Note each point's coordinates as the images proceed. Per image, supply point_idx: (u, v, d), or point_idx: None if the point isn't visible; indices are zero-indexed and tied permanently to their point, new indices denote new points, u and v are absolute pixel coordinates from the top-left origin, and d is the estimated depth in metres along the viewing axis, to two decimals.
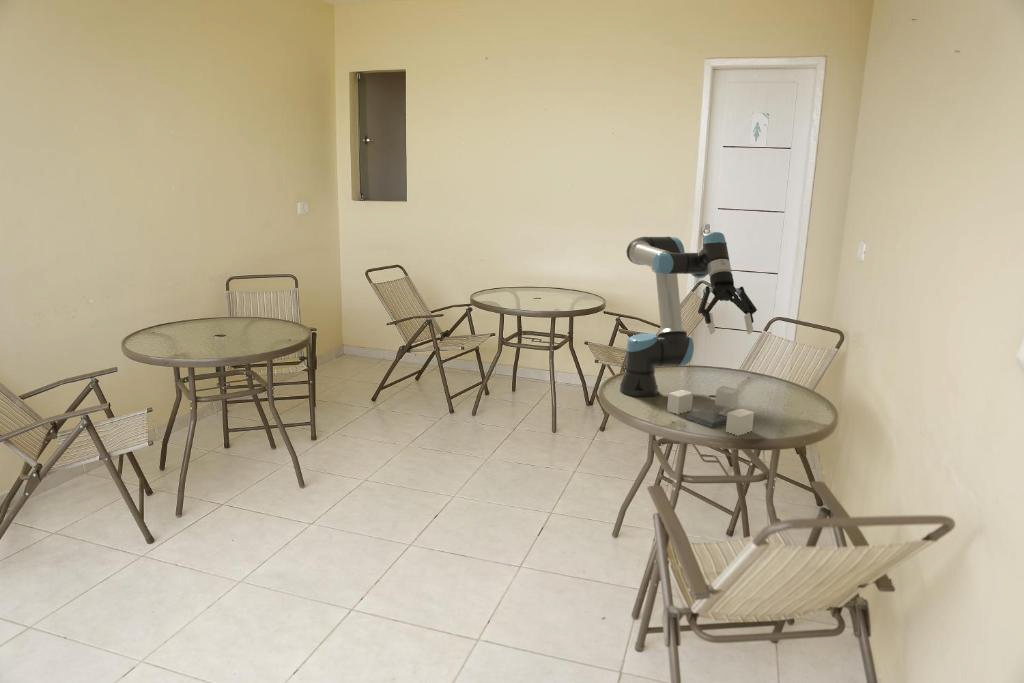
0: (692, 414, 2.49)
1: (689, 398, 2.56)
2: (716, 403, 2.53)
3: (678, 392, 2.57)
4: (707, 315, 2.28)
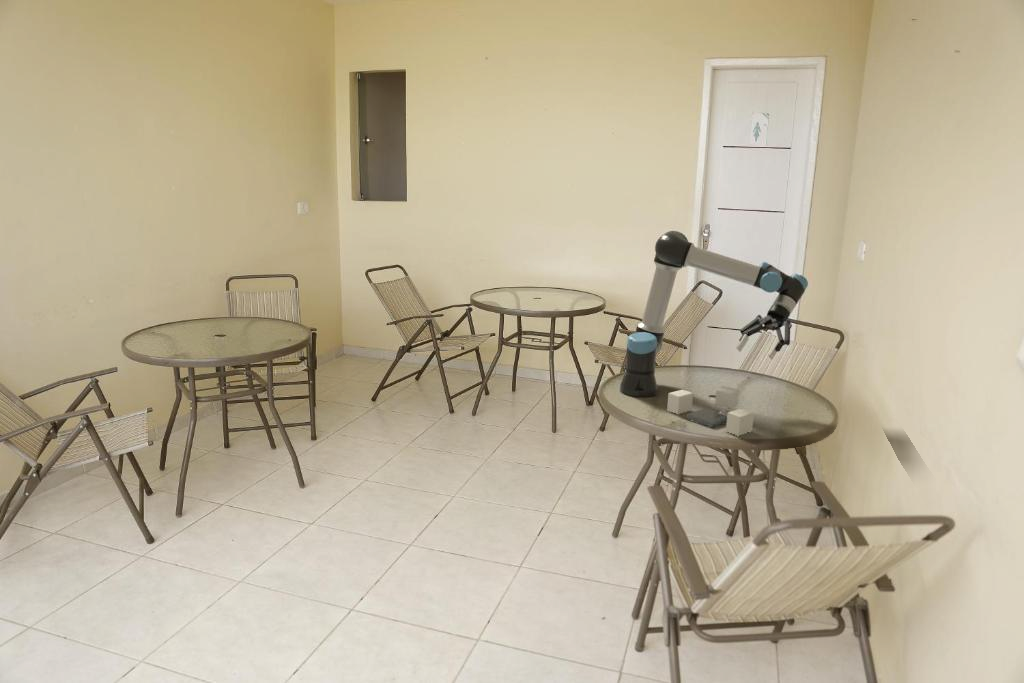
0: (692, 414, 2.49)
1: (689, 398, 2.56)
2: (716, 403, 2.53)
3: (678, 392, 2.57)
4: None
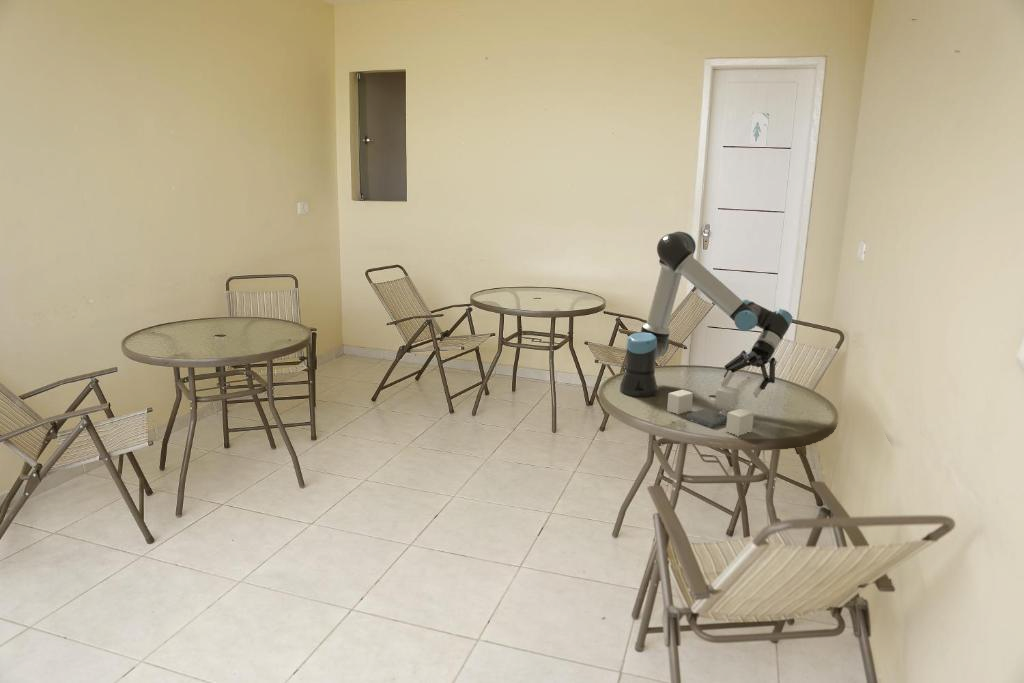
0: (692, 414, 2.49)
1: (689, 398, 2.56)
2: (716, 403, 2.53)
3: (678, 392, 2.57)
4: None
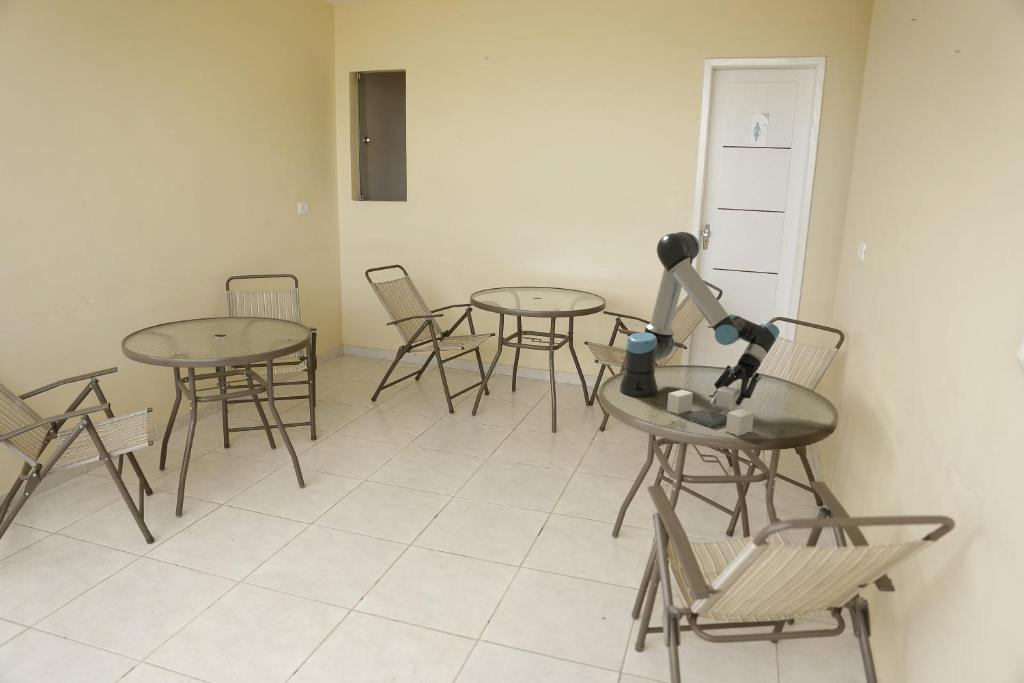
0: (692, 414, 2.49)
1: (689, 398, 2.56)
2: (716, 403, 2.53)
3: (678, 392, 2.57)
4: None
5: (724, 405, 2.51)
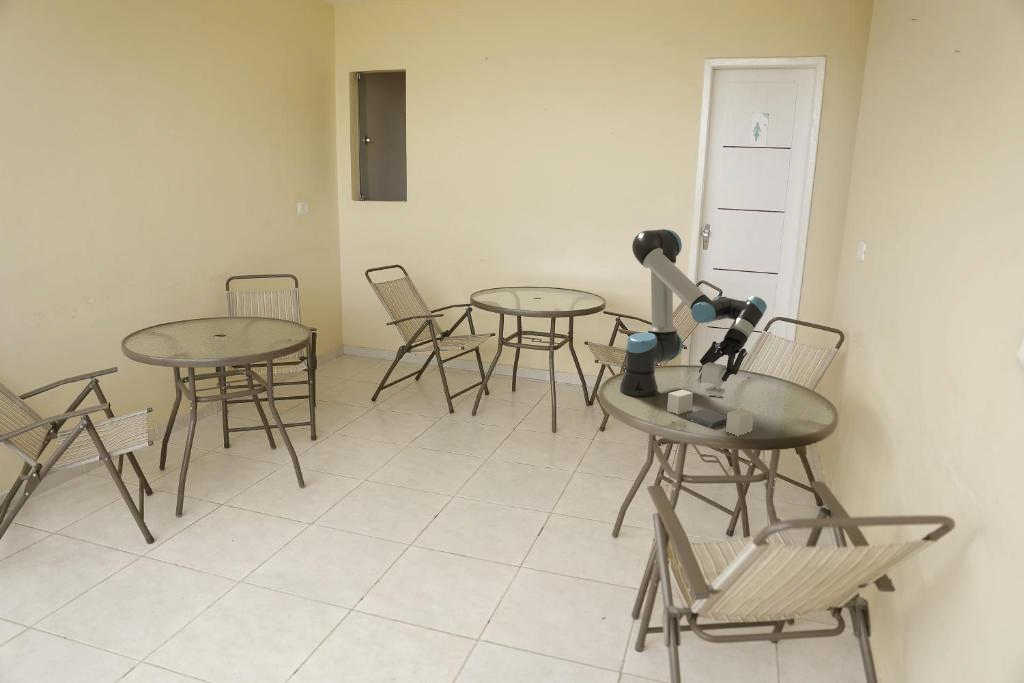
0: (692, 414, 2.49)
1: (689, 398, 2.56)
2: (702, 380, 2.44)
3: (678, 392, 2.57)
4: None
5: (710, 382, 2.42)
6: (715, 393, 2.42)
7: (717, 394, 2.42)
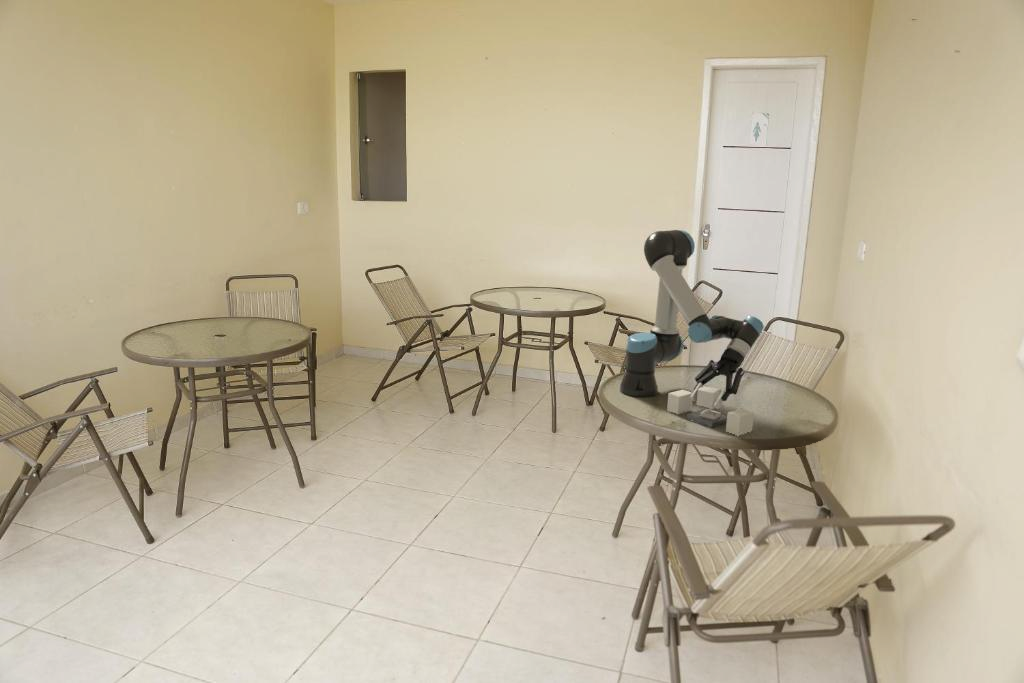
0: (692, 414, 2.49)
1: (689, 398, 2.56)
2: (697, 403, 2.46)
3: (678, 392, 2.57)
4: None
5: (705, 405, 2.44)
6: (710, 416, 2.44)
7: (712, 418, 2.44)
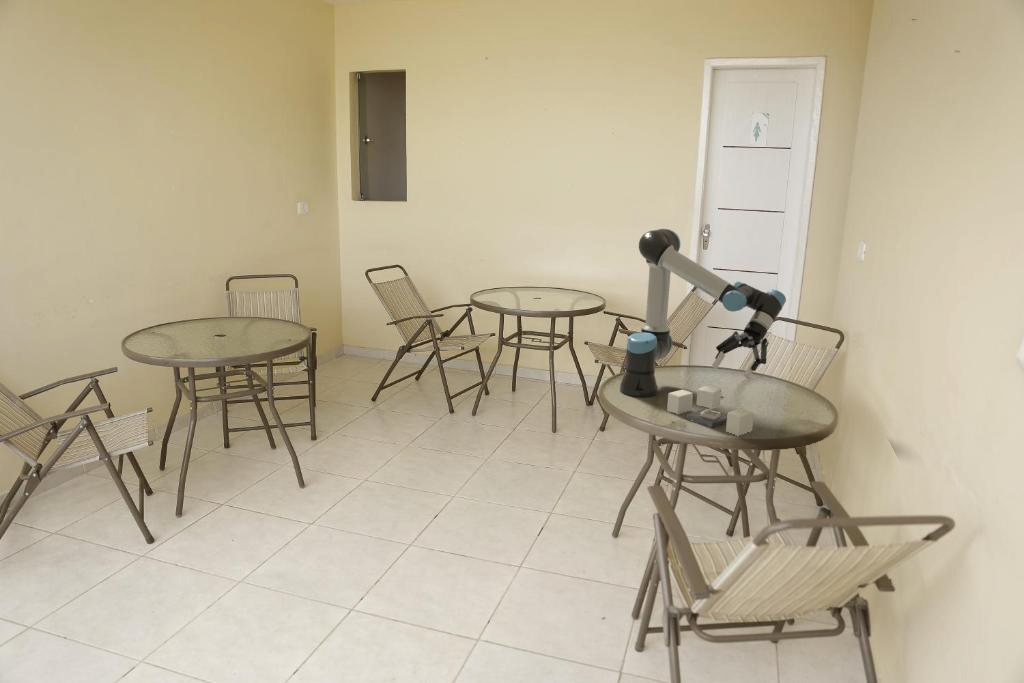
0: (692, 414, 2.49)
1: (689, 398, 2.56)
2: (697, 403, 2.46)
3: (678, 392, 2.57)
4: None
5: (705, 405, 2.44)
6: (710, 416, 2.44)
7: (712, 418, 2.44)
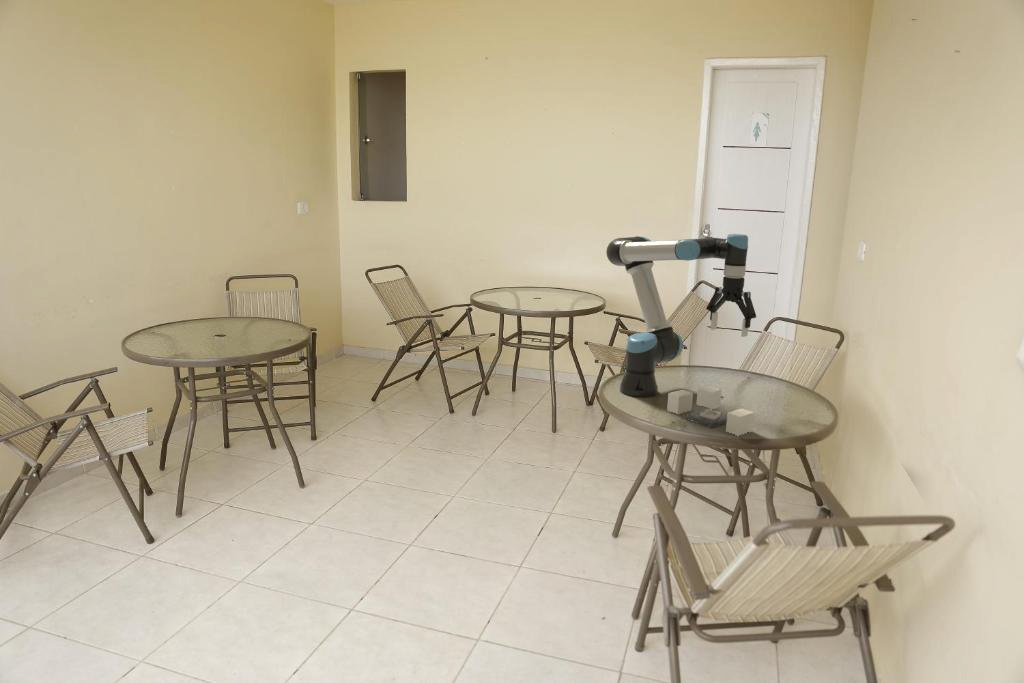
0: (692, 414, 2.49)
1: (689, 398, 2.56)
2: (697, 403, 2.46)
3: (678, 392, 2.57)
4: None
5: (705, 405, 2.44)
6: (710, 416, 2.44)
7: (712, 418, 2.44)
